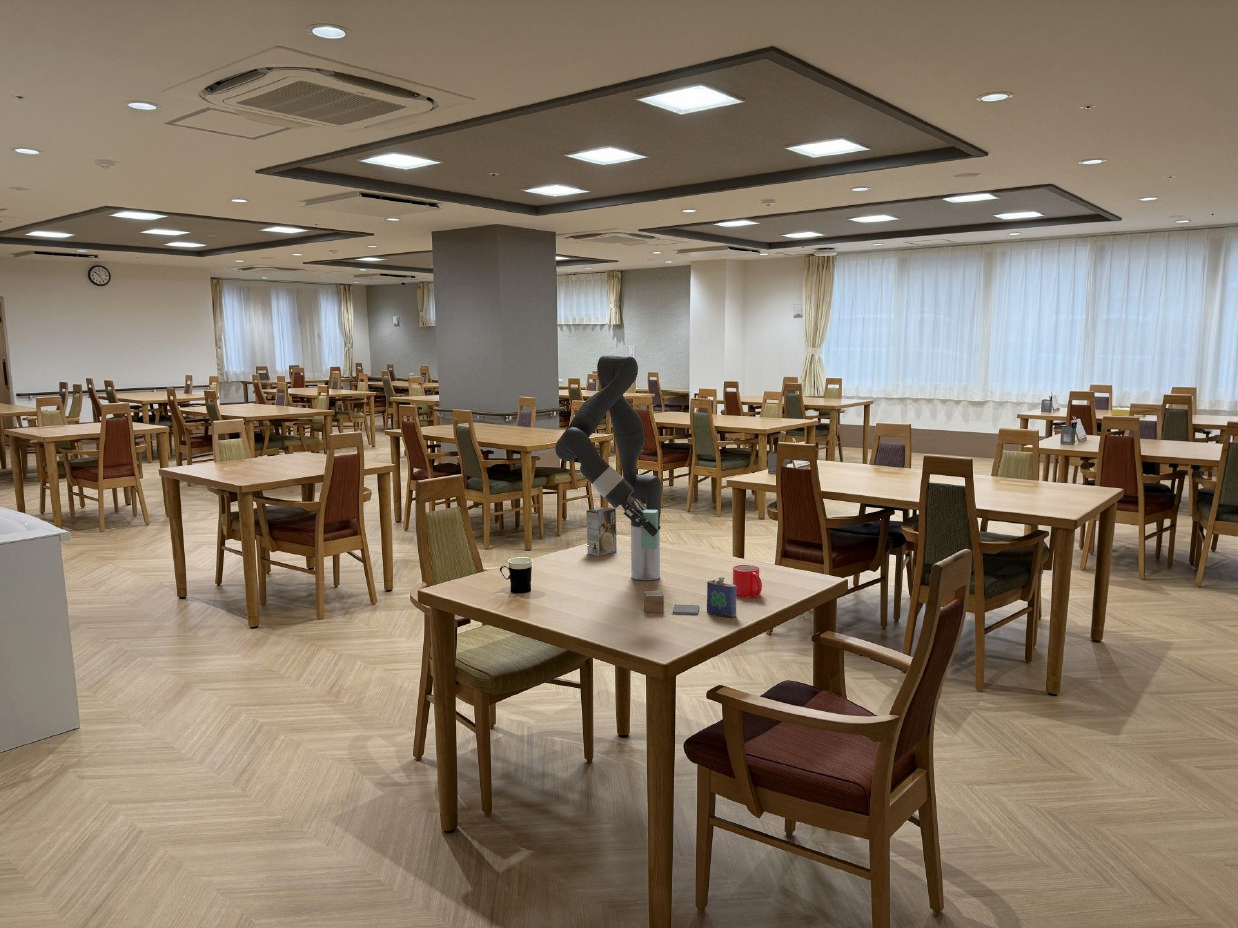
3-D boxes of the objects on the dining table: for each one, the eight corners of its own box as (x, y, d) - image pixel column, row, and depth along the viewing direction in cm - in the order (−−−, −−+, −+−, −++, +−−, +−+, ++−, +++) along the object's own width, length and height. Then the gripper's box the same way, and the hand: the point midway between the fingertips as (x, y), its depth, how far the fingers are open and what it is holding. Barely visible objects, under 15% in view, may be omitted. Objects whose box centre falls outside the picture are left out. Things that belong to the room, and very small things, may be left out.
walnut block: (644, 608, 247) (644, 591, 247) (661, 607, 248) (661, 590, 247) (646, 613, 242) (645, 596, 242) (663, 612, 243) (663, 595, 242)
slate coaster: (674, 608, 248) (674, 604, 248) (699, 609, 247) (699, 605, 247) (672, 615, 242) (672, 611, 241) (697, 616, 240) (697, 612, 240)
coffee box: (604, 549, 318) (603, 506, 316) (617, 551, 314) (616, 508, 312) (586, 553, 312) (585, 509, 310) (599, 556, 307) (598, 512, 305)
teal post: (643, 545, 239) (643, 509, 237) (658, 545, 238) (658, 509, 237) (641, 548, 235) (641, 512, 234) (655, 549, 234) (655, 512, 233)
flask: (738, 616, 239) (738, 578, 237) (732, 619, 236) (732, 580, 235) (709, 610, 244) (709, 573, 243) (704, 612, 242) (703, 575, 241)
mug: (750, 602, 251) (750, 575, 250) (727, 591, 262) (727, 566, 261) (772, 598, 255) (773, 572, 254) (749, 588, 266) (749, 563, 264)
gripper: (617, 482, 228) (663, 528, 228) (627, 473, 242) (670, 517, 242) (597, 501, 230) (643, 547, 230) (608, 492, 244) (651, 535, 243)
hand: (656, 531), depth 236 cm, fingers closed on teal post, 4 cm apart
